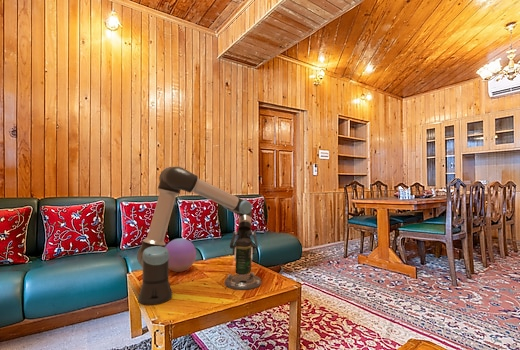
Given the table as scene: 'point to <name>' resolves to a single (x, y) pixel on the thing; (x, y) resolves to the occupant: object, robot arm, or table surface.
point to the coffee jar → (243, 256)
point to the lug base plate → (242, 281)
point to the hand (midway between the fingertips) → (243, 259)
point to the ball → (181, 254)
